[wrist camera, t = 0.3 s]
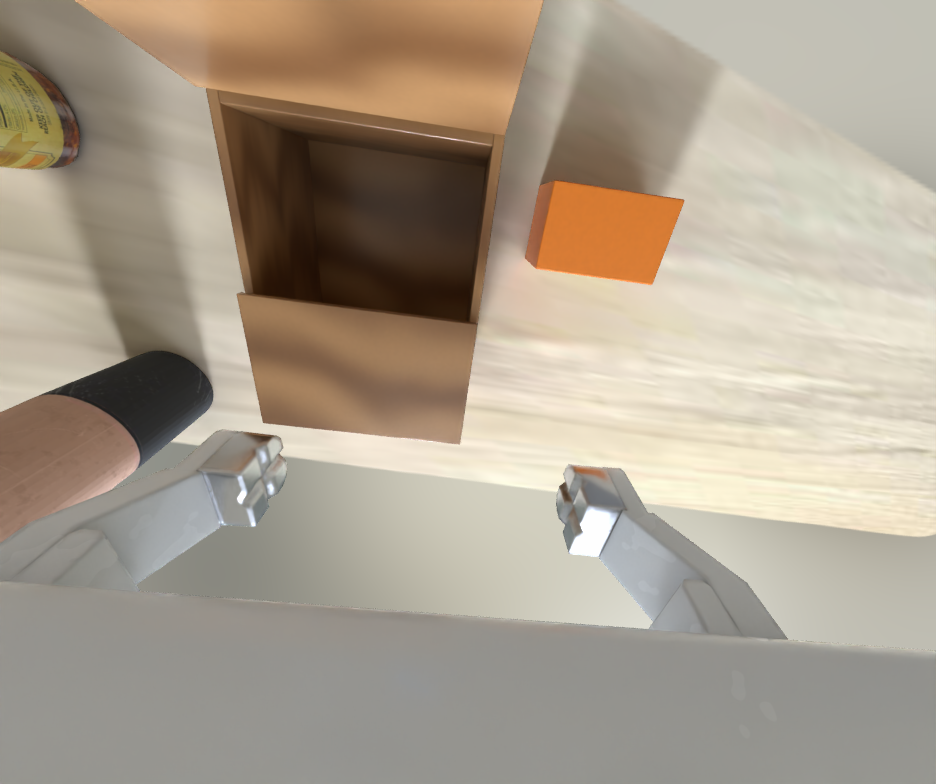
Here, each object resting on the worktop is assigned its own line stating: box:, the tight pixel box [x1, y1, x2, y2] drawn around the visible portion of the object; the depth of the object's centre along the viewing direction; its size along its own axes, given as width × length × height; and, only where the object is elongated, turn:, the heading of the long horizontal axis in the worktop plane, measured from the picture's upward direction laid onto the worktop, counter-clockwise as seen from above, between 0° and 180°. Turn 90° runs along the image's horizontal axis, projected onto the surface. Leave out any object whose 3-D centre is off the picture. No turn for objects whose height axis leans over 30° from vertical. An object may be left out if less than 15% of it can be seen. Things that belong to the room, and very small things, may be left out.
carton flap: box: [74, 0, 544, 135], centre depth 10 cm, size 8×13×1 cm
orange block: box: [525, 180, 684, 285], centre depth 23 cm, size 5×8×5 cm, turn 83°
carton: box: [206, 88, 505, 444], centre depth 22 cm, size 17×13×10 cm
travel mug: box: [0, 351, 213, 543], centre depth 23 cm, size 8×8×20 cm
